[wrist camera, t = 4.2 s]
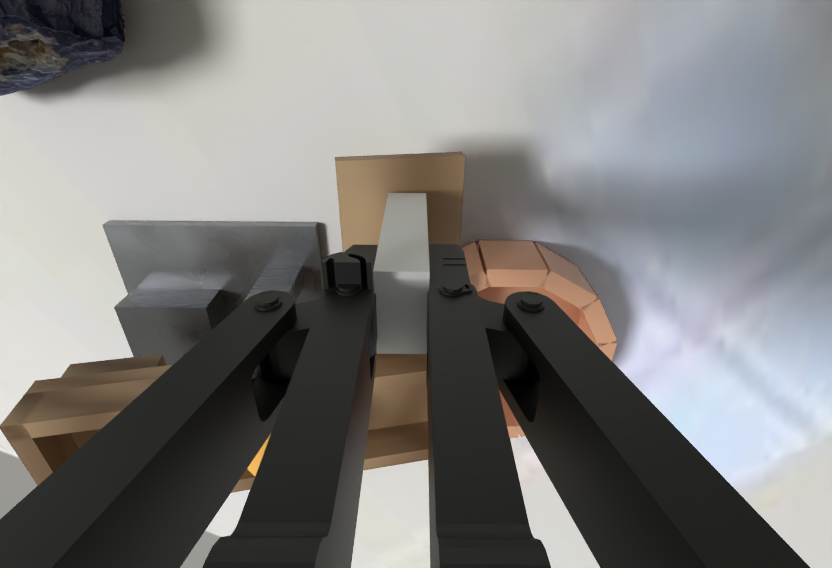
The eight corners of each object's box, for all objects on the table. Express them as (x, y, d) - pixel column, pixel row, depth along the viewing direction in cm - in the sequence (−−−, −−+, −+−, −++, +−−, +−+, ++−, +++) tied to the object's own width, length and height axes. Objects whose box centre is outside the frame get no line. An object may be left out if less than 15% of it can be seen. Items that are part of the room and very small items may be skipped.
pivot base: (176, 405, 31) (109, 508, 24) (109, 220, 24) (-11, 293, 18) (337, 406, 31) (315, 510, 24) (317, 222, 24) (278, 296, 18)
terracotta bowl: (398, 239, 25) (396, 268, 22) (611, 241, 25) (638, 270, 22) (401, 396, 31) (399, 436, 28) (572, 398, 31) (589, 438, 28)
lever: (101, 448, 23) (62, 523, 20) (-47, 161, 16) (-152, 199, 12) (438, 399, 27) (457, 457, 23) (449, 142, 19) (481, 168, 16)
